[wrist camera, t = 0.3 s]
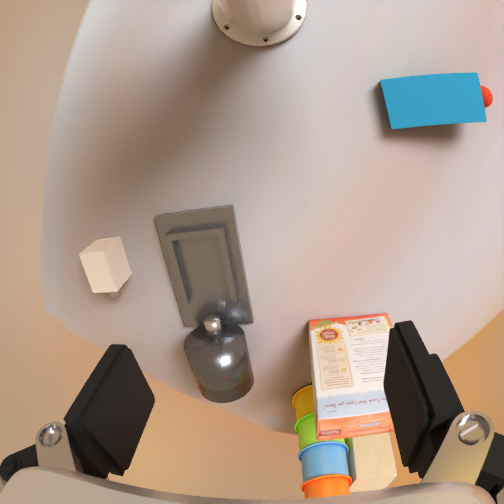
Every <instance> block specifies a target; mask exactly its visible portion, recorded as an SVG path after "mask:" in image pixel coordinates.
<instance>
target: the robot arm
mask: <svg viewBox="0 0 504 504" xmlns="http://www.w3.org/2000/svg"><path fill="white" fill-rule="evenodd" d="M212 10H213V16H214V19H215V21H216V23H217V25H218V27H219V28H220V29H221V31H222V32H224V33H225V34H226V35H227V36H228V37H230V38H231V39H233V40H234V41H237V42H239V43H242V44H246V45H250V46H269V45H273V44H277V43H280V42H282V41H284V40H286V39H288V38H289V37H291V36H292V35H294V34H295V33H296V32H297V31H298V30H299V28H300V27H301V25H302V24H303V22H304V19H305V17H306V12H307V2H306V0H213V5H212ZM297 18H299V19H300V20H297ZM227 27H229V29H228V30H226V28H227ZM265 39H267V40H268V41H267V42H265V41H264V40H265ZM383 387H384V393H385V396H386V400H387V403H388V407H389V411H390V415H391V419H392V422H393V426H394V430H395V434H396V438H397V443H398V447H399V451H400V455H401V460H402V464H403V466H404V467H407V466H408V468H409V472H410V473H414V472H418V475H419V477H420V478H422V481H421V482H420V483H419V484H412V485H405V486H400V487H393V488H387V489H381V490H375V491H369V492H362V493H356V494H347V495H338V496H329V497H318V498H305V499H283V500H248V499H224V498H211V497H200V496H191V495H183V494H176V493H169V492H162V491H157V490H151V489H145V488H140V487H135V486H130V485H126V484H122V483H117V482H113V481H109V478H108V473H109V472H110V473H112V474H115V475H120V476H123V474H124V472H125V470H127V469H128V468H129V466H130V464H131V461H132V458H133V456H134V453H135V451H136V448H137V445H138V443H139V440H140V438H141V436H142V433H143V430H144V428H145V425H146V423H147V420H148V418H149V416H150V413H151V411H152V408H153V406H154V403H155V398H154V394H153V393H152V391H151V389H150V387H149V385H148V383H147V381H146V379H145V377H144V375H143V373H142V371H141V369H140V367H139V365H138V363H137V361H136V359H135V357H134V355H133V353H132V351H131V349H129V348H128V347H127V346H126V345H124V344H112V345H110V346H109V348H108V349H107V351H106V352H105V354H104V355H103V357H102V358H101V360H100V361H99V363H98V364H97V366H96V367H95V369H94V371H93V372H92V374H91V375H90V377H89V379H88V380H87V382H86V383H85V385H84V386H83V388H82V389H81V391H80V393H79V394H78V396H77V397H76V399H75V401H74V402H73V404H72V406H71V407H70V409H69V411H68V412H67V414H66V416H65V417H64V421H65V422H66V424H65V425H63V424H62V423H59V422H51V423H48V424H46V425H44V426H43V427H42V428H41V429H40V430H39V431H38V433H37V435H36V444H34V445H32V446H30V447H28V448H25V449H23V450H21V451H18V452H16V453H14V454H11V455H9V456H8V457H6V458H5V459H4V460H3V461H2V463H1V465H0V504H504V436H503V435H501V434H498V433H495V432H494V430H495V429H494V424H493V422H492V420H491V418H490V417H489V416H487V415H486V414H485V413H483V412H480V411H475V410H471V411H466V412H465V411H464V409H463V406H462V404H461V402H460V400H459V398H458V395H457V393H456V391H455V389H454V387H453V385H452V383H451V381H450V378H449V376H448V374H447V373H446V371H445V368H444V366H443V364H442V362H441V360H440V358H439V357H438V355H437V354H430V355H429V353H428V351H427V349H426V347H425V345H424V343H423V341H422V339H421V337H420V335H419V333H418V331H417V329H416V327H415V326H414V324H413V322H412V321H411V320H410V321H404V322H398V323H395V325H394V328H390V330H389V340H388V349H387V358H386V366H385V374H384V381H383Z"/></svg>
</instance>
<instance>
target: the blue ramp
mask: <svg viewBox="0 0 504 504" xmlns="http://www.w3.org/2000/svg"><path fill="white" fill-rule="evenodd" d="M380 83H381V87H382V91H383V95H384V99H385V104H386V108H387V112H388V117H389V122H390V127H391V129H400V128H409V127H418V126H429V125H441V124H454V123H470V122H486V114H485V107H488V106H490V105H491V103H492V100H493V98H492V94H491V92H490V90H489V89H488V88H486V87H484V86H480V82H479V78H478V73H450V74H433V75H421V76H410V77H401V78H392V79H384V80H381V81H380Z"/></svg>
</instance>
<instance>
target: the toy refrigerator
mask: <svg viewBox="0 0 504 504" xmlns="http://www.w3.org/2000/svg"><path fill="white" fill-rule="evenodd" d="M344 440H345V444H346V445H347V446H348V453H347V454H346V458H347V465H348V472H349V476H350V477H351V479H352V482H351V484H350V485H349V487H350V492H360V491H372V490H381V489H384V488H385V487H386V486H387V485H388V484H389V483H390V482H391V481H392V480H393V479H394V478H395V477H396V476H397V472H396V466H395V461H394V455H393V451H392V446H391V441H390V436H389V432H387V433H381V434H374V435H367V436H360V437H353V438H344Z"/></svg>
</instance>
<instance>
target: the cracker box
mask: <svg viewBox="0 0 504 504" xmlns="http://www.w3.org/2000/svg"><path fill="white" fill-rule="evenodd" d="M390 328H393V325H392V323H391V321H390V319H389V316H388V314H387V313H384V314H375V315H366V316H355V317H344V318H332V319H319V320H309V354H310V365H311V377H312V389H313V403H314V416H315V430H316V441H323V440H335V439H344V438H353V437H360V436H367V435H374V434H381V433H387V432H392V431H395V430H394V426H393V422H392V419H391V415H390V411H389V407H388V403H387V400H386V396H385V393H384V387H383V381H384V374H385V366H386V358H387V349H388V340H389V330H390Z"/></svg>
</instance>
